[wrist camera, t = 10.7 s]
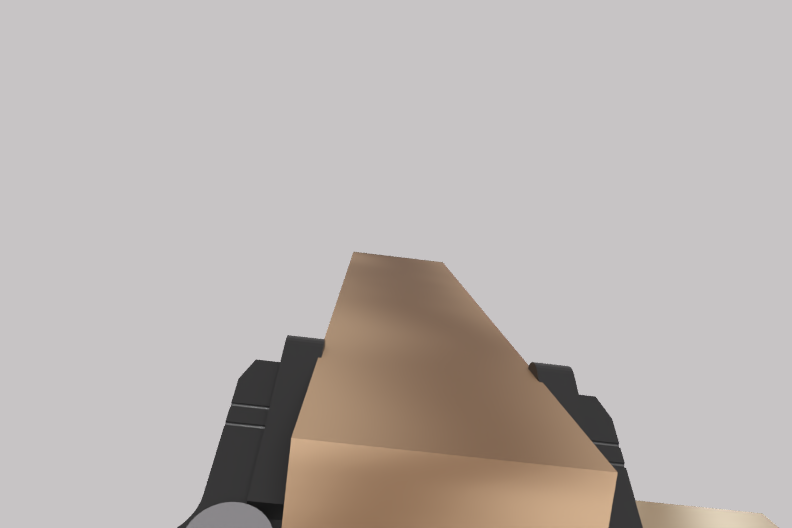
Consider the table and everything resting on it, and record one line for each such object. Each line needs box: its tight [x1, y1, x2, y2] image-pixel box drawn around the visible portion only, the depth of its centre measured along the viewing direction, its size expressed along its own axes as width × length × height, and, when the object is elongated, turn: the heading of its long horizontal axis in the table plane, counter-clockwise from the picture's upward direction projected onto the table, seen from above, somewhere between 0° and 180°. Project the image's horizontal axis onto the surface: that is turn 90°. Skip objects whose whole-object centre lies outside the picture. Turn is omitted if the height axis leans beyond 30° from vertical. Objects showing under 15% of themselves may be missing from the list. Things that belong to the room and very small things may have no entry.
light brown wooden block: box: [282, 252, 618, 528], centre depth 19 cm, size 4×22×4 cm, turn 2°
